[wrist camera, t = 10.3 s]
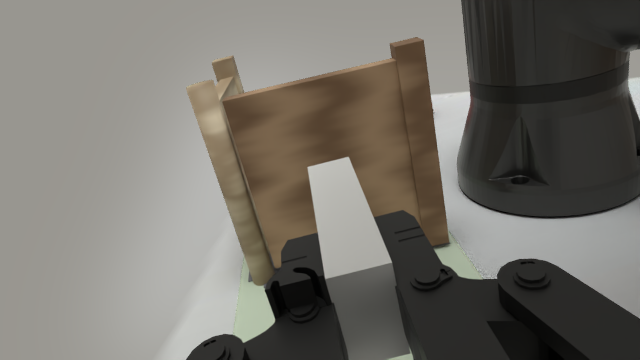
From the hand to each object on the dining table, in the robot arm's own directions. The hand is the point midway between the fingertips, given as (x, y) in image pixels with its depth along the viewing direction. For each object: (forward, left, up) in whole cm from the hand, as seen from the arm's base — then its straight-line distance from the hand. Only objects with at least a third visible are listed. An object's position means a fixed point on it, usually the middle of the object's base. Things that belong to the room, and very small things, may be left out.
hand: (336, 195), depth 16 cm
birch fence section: (+7, -21, -13) cm, 26 cm away
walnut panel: (-1, -15, -12) cm, 19 cm away
